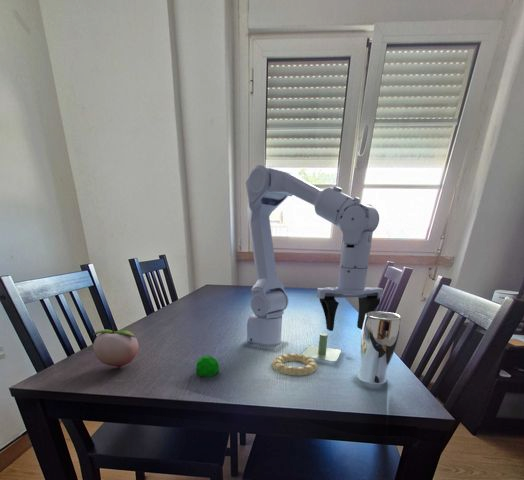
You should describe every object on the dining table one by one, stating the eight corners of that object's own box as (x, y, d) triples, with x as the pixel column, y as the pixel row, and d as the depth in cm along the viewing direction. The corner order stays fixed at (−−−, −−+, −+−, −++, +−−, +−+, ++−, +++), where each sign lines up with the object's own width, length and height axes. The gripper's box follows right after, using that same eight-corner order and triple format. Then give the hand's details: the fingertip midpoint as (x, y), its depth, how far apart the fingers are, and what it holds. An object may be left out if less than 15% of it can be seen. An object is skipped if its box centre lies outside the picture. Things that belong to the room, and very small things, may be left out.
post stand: (300, 359, 72) (301, 336, 70) (309, 348, 80) (311, 327, 77) (335, 366, 69) (338, 342, 66) (341, 354, 76) (344, 332, 74)
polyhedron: (205, 370, 65) (204, 351, 63) (223, 374, 63) (223, 355, 61) (191, 379, 61) (190, 358, 59) (210, 384, 59) (209, 363, 57)
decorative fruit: (90, 377, 61) (80, 332, 57) (104, 362, 68) (96, 322, 65) (136, 374, 62) (129, 331, 59) (144, 360, 70) (139, 321, 66)
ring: (265, 374, 64) (265, 364, 63) (281, 358, 73) (281, 349, 72) (310, 383, 60) (311, 373, 59) (321, 365, 69) (322, 356, 68)
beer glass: (385, 394, 56) (399, 321, 51) (350, 384, 60) (360, 315, 54) (390, 380, 62) (404, 314, 56) (358, 373, 65) (368, 309, 60)
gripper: (328, 269, 55) (322, 335, 59) (395, 269, 57) (384, 333, 62) (315, 266, 61) (310, 326, 66) (376, 266, 64) (367, 324, 68)
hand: (345, 329), depth 64 cm, fingers open, 7 cm apart
